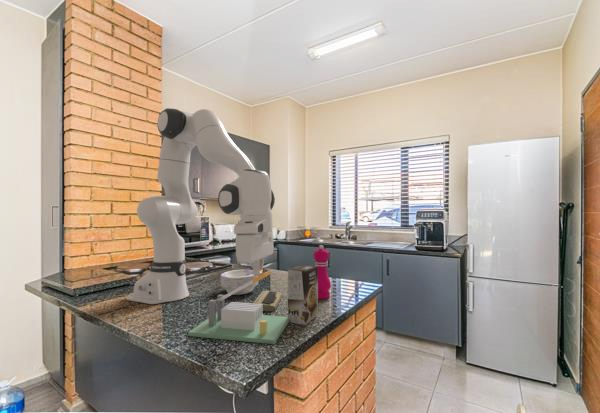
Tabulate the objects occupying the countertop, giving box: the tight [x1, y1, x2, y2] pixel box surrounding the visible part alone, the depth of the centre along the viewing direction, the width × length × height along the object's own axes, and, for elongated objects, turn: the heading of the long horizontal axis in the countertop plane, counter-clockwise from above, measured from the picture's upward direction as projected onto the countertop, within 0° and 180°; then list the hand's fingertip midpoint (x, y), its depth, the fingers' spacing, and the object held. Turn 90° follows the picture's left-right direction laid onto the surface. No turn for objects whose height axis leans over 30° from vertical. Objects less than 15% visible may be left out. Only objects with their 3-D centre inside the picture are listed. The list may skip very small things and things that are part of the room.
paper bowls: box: [220, 269, 259, 296], centre depth 119 cm, size 15×15×8 cm
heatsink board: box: [187, 294, 290, 345], centre depth 82 cm, size 24×16×8 cm, turn 78°
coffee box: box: [287, 264, 319, 326], centre depth 90 cm, size 9×6×16 cm
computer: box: [253, 290, 283, 312], centre depth 104 cm, size 16×8×3 cm, turn 175°
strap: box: [215, 269, 272, 305], centre depth 83 cm, size 19×5×1 cm, turn 78°
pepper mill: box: [313, 244, 332, 300], centre depth 112 cm, size 7×7×20 cm
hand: (258, 274), depth 81 cm, fingers closed, pressing on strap
